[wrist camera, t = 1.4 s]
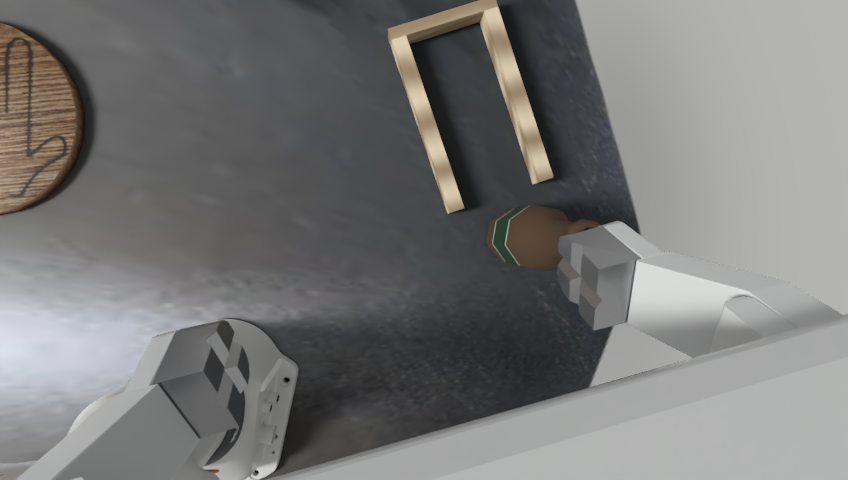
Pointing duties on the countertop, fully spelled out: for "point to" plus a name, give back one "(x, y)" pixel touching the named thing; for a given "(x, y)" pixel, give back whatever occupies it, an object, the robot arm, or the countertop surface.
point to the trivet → (35, 121)
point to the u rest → (507, 77)
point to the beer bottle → (532, 235)
